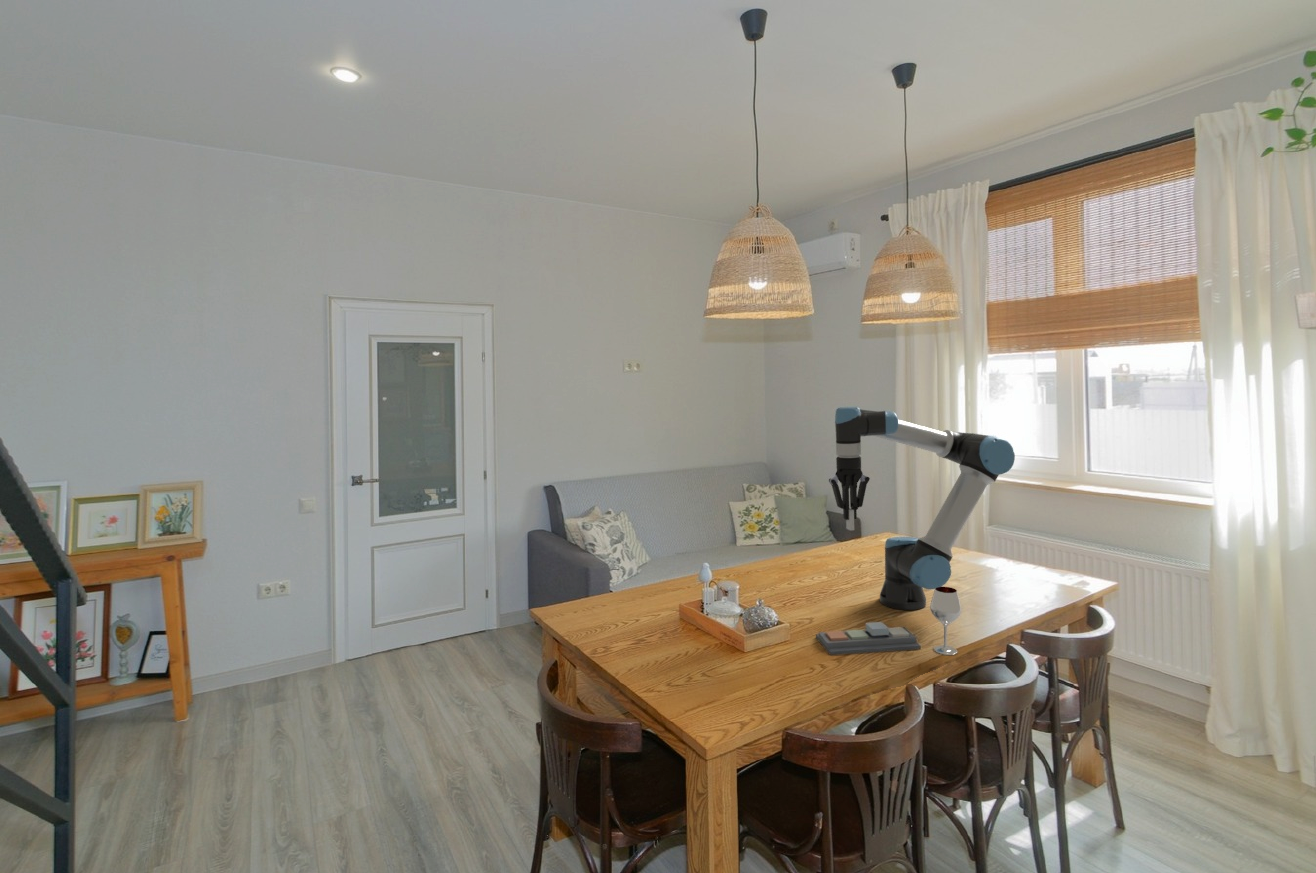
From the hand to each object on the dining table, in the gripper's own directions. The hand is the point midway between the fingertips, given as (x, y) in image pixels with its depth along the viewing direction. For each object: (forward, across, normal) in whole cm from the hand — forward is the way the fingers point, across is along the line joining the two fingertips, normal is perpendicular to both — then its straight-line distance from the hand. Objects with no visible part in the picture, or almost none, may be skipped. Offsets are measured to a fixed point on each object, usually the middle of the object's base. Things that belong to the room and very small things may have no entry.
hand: (850, 529), depth 214 cm
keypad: (+31, +3, +16) cm, 35 cm away
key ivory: (+30, -7, +17) cm, 35 cm away
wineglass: (+31, -17, +26) cm, 44 cm away
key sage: (+29, +6, +16) cm, 34 cm away
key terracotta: (+29, +12, +16) cm, 35 cm away
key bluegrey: (+28, 0, +17) cm, 32 cm away
